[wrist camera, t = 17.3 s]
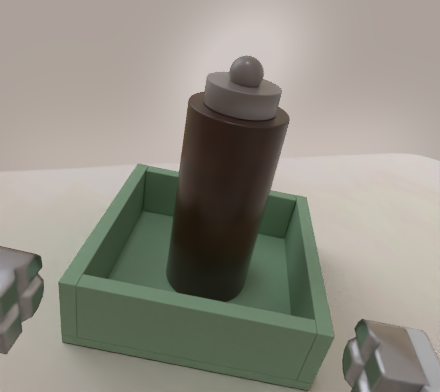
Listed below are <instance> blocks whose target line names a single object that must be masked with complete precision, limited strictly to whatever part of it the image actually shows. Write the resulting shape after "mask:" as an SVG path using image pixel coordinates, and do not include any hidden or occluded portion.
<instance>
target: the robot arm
mask: <svg viewBox="0 0 440 392" xmlns="http://www.w3.org/2000/svg"><path fill="white" fill-rule="evenodd" d="M41 268H42V261H41V256H39V255H37V254H33V253H29V252H24V251H20V250H15V249H11V248H7V247H2V246H0V353H1V354H7V353H8V351H9V350H10V349H11V347H12V346H13V344H14V343H15V341H16V340H17V338H18V337H19V335H20V334H21V333H22V325H21V323H22V322H23V321H25V320H27V319H29V318H31V317H32V316H33V315H34V313H35V312H36V310H37V309H38V307H39V304H40V302H41V299H42V297H43V290H44V281H43V279H42V278H41V277H40V275H39V274H38V272H39V271H40V269H41ZM355 333H356V337H355V338H353V339H351V340H349V341H348V343H347V345H346V347H345V349H344V354H343V360H342V362H343V373H344V379H345V380H346V381H347V383H348V384H349V385H350V386H351V387H352V390H351V392H440V361H439V359H438V357H437V355H436V352H435V350H434V348H433V346H432V344H431V342H430V340H429V338H428V335H427V334H426V333H425V332H424V331H423V330H418V329H413V328H408V327H400V326H396V325H391V324H386V323H381V322H375V321H370V320H365V319H362V320H360V321H359V322H358V324H357V325H356V327H355Z"/></svg>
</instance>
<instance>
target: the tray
mask: <svg viewBox="0 0 440 392" xmlns="http://www.w3.org/2000/svg"><path fill="white" fill-rule="evenodd" d="M178 177H179V172H176V171H171V170H166V169H161V168H156V167H151V166H149V167H148V166H147V165H142V164H138V165H137V166H136V168H135V169H134V171H133V172H132V173H131V175H130V176H129V178H128V179H127V181H126V182H125V184H124V185H123V187H122V188H121V190H120V191H119V193H118V194H117V196H116V197H115V199H114V200H113V202H112V203H111V205H110V206H109V208H108V209H107V211H106V212H105V214H104V215H103V217H102V218H101V220H100V221H99V223H98V224H97V226H96V227H95V229H94V230H93V232H92V233H91V235H90V236H89V237H88V239H87V240H86V242H85V243H84V245H83V246H82V248H81V249H80V251H79V252H78V254H77V255H76V257H75V258H74V260H73V261H72V263H71V264H70V266H69V267H68V269H67V270H66V272H65V273H64V275H63V276H62V278H61V279H60V281H59V299H60V316H61V333H62V342H66V343H71V344H76V345H81V346H86V347H91V348H96V349H101V350H106V351H111V352H116V353H121V354H126V355H132V356H137V357H142V358H147V359H152V360H157V361H162V362H167V363H172V364H177V365H182V366H187V367H192V368H197V369H202V370H207V371H212V372H217V373H222V374H227V375H232V376H238V377H243V378H248V379H253V380H258V381H263V382H268V383H273V384H278V385H283V386H288V387H293V388H298V389H303V390H309V388H310V386H311V384H312V382H313V380H314V378H315V376H316V374H317V372H318V370H319V368H320V366H321V364H322V362H323V360H324V358H325V356H326V354H327V351H328V349H329V347H330V345H331V343H332V341H333V339H334V332H333V327H332V322H331V317H330V312H329V307H328V302H327V297H326V292H325V287H324V282H323V277H322V272H321V267H320V262H319V257H318V252H317V247H316V242H315V237H314V232H313V227H312V222H311V217H310V212H309V207H308V202H307V197H303V196H298V195H296V196H295V195H292V194H287V193H282V192H277V191H272V190H270V193H269V197H268V200H267V204H266V207H265V211H264V215H263V218H262V222H261V226H260V229H259V233H258V236H257V240H256V244H255V247H254V251H253V254H252V258H251V262H250V265H249V269H248V273H247V276H246V280H245V283H244V287H243V289H242V291H241V292H240V293H239V294H238V295H237V296H236V297H235V298H233V299H231V300H229V301H227V302H221V301H216V300H211V299H206V298H201V297H196V296H191V295H186V294H181V293H177V292H176V291H175V290H174V289H173V288H172V286H171V285H170V283H169V281H168V279H167V275H166V268H167V261H168V253H169V245H170V238H171V230H172V223H173V215H174V207H175V200H176V192H177V185H178Z"/></svg>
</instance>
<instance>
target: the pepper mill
mask: <svg viewBox="0 0 440 392" xmlns="http://www.w3.org/2000/svg"><path fill="white" fill-rule="evenodd" d="M263 72H264V71H263V67H262V65H261V63H260V62H259V61H258V60H257V59H256V58H254V57H251V56H243V57H240V58H238V59H237V60H235V61H234V62H233V64H232V66H231V68H230V72H215V73H211V74H209V75H208V76H207V80H206V86H205V92H200V93H197V94H194V95H192V96H191V97H190V99H189V101H188V109H187V117H186V124H185V133H184V139H183V147H182V154H181V162H180V170H179V177H178V185H177V192H176V200H175V207H174V215H173V223H172V230H171V238H170V245H169V253H168V261H167V268H166V275H167V279H168V281H169V283H170V285H171V286H172V288H173V289H174V290H175V291H176V292H177V293H181V294H186V295H191V296H196V297H201V298H206V299H211V300H216V301H221V302H227V301H229V300H231V299H233V298H235V297H236V296H237V295H238V294H239V293H240V292H241V291H242V289H243V287H244V283H245V280H246V276H247V273H248V269H249V265H250V262H251V258H252V254H253V251H254V247H255V244H256V240H257V236H258V233H259V229H260V226H261V222H262V218H263V215H264V211H265V207H266V204H267V200H268V197H269V193H270V189H271V186H272V182H273V179H274V175H275V171H276V168H277V164H278V160H279V157H280V153H281V150H282V146H283V142H284V139H285V135H286V132H287V128H288V124H289V116H288V114H287V113H286V112H285V111H284V110H282V109H281V108H279V107H278V105H279V101H280V97H281V93H282V90H281V88H279V86H277V85H276V84H273V83H272V82H269V81H267V80H264V79H263V76H264V73H263Z"/></svg>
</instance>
